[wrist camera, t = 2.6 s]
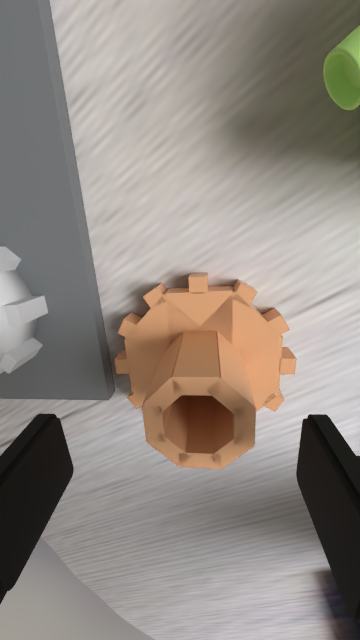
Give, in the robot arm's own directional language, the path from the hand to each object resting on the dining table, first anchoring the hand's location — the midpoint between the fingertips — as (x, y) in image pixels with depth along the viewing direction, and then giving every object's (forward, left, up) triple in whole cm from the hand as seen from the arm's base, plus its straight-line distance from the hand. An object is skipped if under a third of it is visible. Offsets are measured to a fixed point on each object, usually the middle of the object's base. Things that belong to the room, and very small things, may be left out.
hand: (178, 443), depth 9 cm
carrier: (+9, +14, -9) cm, 19 cm away
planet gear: (-1, -1, -9) cm, 9 cm away
